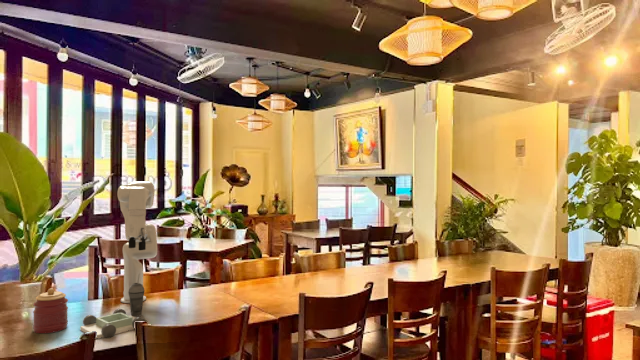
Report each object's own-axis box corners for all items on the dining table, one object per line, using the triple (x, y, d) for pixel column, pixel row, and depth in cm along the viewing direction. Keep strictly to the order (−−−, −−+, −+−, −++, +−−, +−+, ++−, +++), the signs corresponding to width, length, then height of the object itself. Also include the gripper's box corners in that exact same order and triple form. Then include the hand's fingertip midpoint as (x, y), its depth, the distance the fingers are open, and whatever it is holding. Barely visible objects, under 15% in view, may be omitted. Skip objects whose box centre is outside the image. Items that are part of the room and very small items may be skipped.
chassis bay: (78, 328, 193) (78, 317, 193) (127, 317, 210) (127, 306, 210) (98, 340, 180) (98, 328, 180) (149, 327, 196) (150, 315, 196)
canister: (74, 325, 198) (75, 285, 198) (51, 335, 185) (51, 293, 185) (50, 323, 201) (50, 284, 201) (25, 332, 188) (25, 291, 188)
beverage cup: (131, 313, 216) (131, 272, 216) (146, 313, 217) (146, 272, 217) (125, 318, 209) (126, 275, 209) (141, 317, 209) (142, 275, 209)
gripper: (121, 212, 216) (120, 247, 216) (138, 214, 204) (138, 251, 204) (136, 212, 221) (135, 246, 221) (153, 213, 210) (153, 250, 210)
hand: (137, 248), depth 213 cm, fingers open, 9 cm apart
